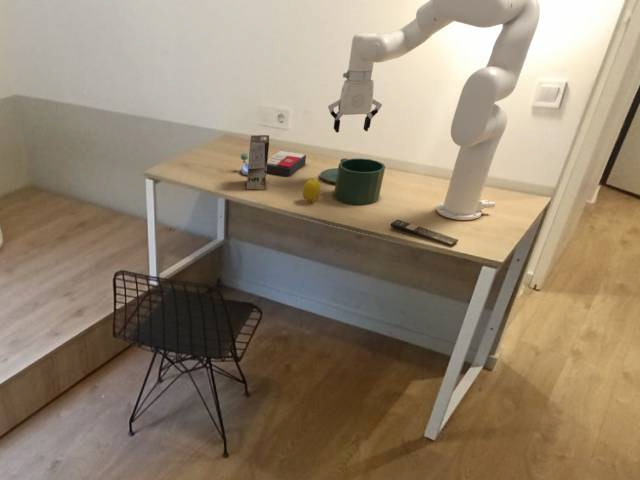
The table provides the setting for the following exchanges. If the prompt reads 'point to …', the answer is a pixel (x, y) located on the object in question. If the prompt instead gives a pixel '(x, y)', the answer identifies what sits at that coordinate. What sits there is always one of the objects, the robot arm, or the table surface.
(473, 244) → the table surface
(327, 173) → the tin lid
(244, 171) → the figurine
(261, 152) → the coffee box
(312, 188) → the lemon
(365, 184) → the tin
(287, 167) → the grey red flat block
